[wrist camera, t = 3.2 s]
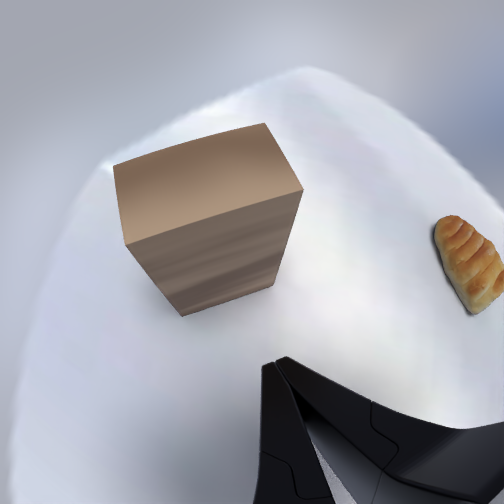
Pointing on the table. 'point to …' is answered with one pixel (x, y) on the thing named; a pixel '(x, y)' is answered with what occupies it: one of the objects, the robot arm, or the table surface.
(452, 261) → the pastry
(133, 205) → the block
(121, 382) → the table surface
